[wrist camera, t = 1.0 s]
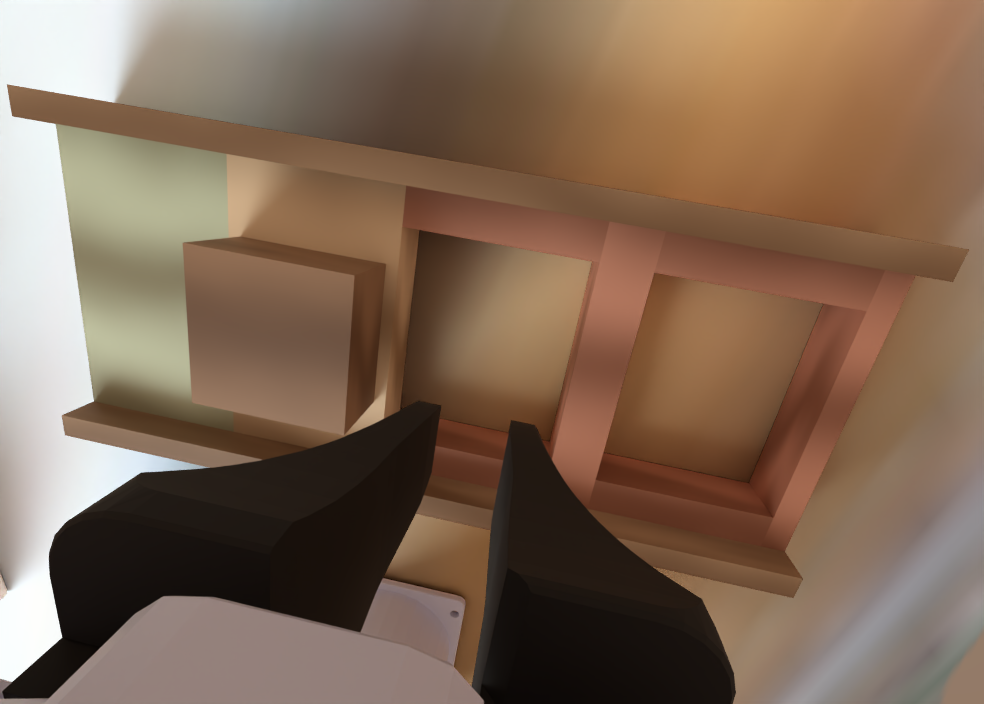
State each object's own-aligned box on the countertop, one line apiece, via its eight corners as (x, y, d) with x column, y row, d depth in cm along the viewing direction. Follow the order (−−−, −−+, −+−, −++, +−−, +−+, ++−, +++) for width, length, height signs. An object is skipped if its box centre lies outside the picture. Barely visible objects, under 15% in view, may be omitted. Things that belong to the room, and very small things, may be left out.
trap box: (751, 530, 22) (793, 597, 18) (141, 398, 24) (65, 435, 20) (878, 239, 17) (968, 249, 14) (112, 107, 20) (6, 84, 16)
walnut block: (373, 401, 20) (344, 435, 17) (242, 374, 20) (192, 403, 17) (386, 264, 18) (354, 275, 15) (240, 236, 18) (182, 242, 15)
